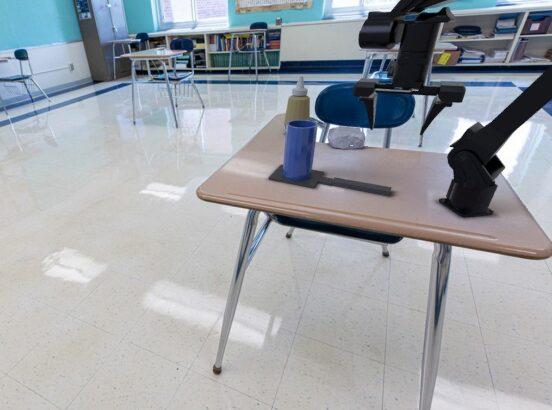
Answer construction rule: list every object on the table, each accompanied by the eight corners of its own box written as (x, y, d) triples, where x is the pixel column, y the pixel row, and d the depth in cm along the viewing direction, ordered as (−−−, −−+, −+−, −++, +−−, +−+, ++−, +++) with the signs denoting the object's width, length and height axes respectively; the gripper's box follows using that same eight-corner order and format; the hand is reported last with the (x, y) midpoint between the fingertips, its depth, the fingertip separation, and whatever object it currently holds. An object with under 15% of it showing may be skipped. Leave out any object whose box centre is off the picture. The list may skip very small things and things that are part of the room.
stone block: (330, 154, 96) (367, 148, 93) (328, 138, 94) (366, 132, 91) (325, 142, 107) (359, 137, 104) (324, 127, 105) (358, 122, 102)
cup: (317, 176, 78) (324, 125, 72) (294, 182, 76) (299, 129, 70) (299, 167, 84) (304, 118, 78) (277, 172, 82) (280, 122, 75)
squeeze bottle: (311, 132, 109) (318, 75, 101) (303, 139, 104) (310, 79, 95) (288, 129, 113) (292, 74, 104) (279, 136, 108) (283, 78, 99)
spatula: (392, 185, 74) (393, 181, 73) (387, 203, 67) (388, 198, 67) (281, 166, 86) (281, 162, 86) (268, 179, 80) (268, 175, 79)
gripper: (474, 46, 63) (447, 126, 71) (368, 47, 72) (355, 118, 80) (479, 52, 55) (448, 142, 63) (359, 52, 64) (345, 131, 71)
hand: (395, 132), depth 69 cm, fingers open, 9 cm apart
